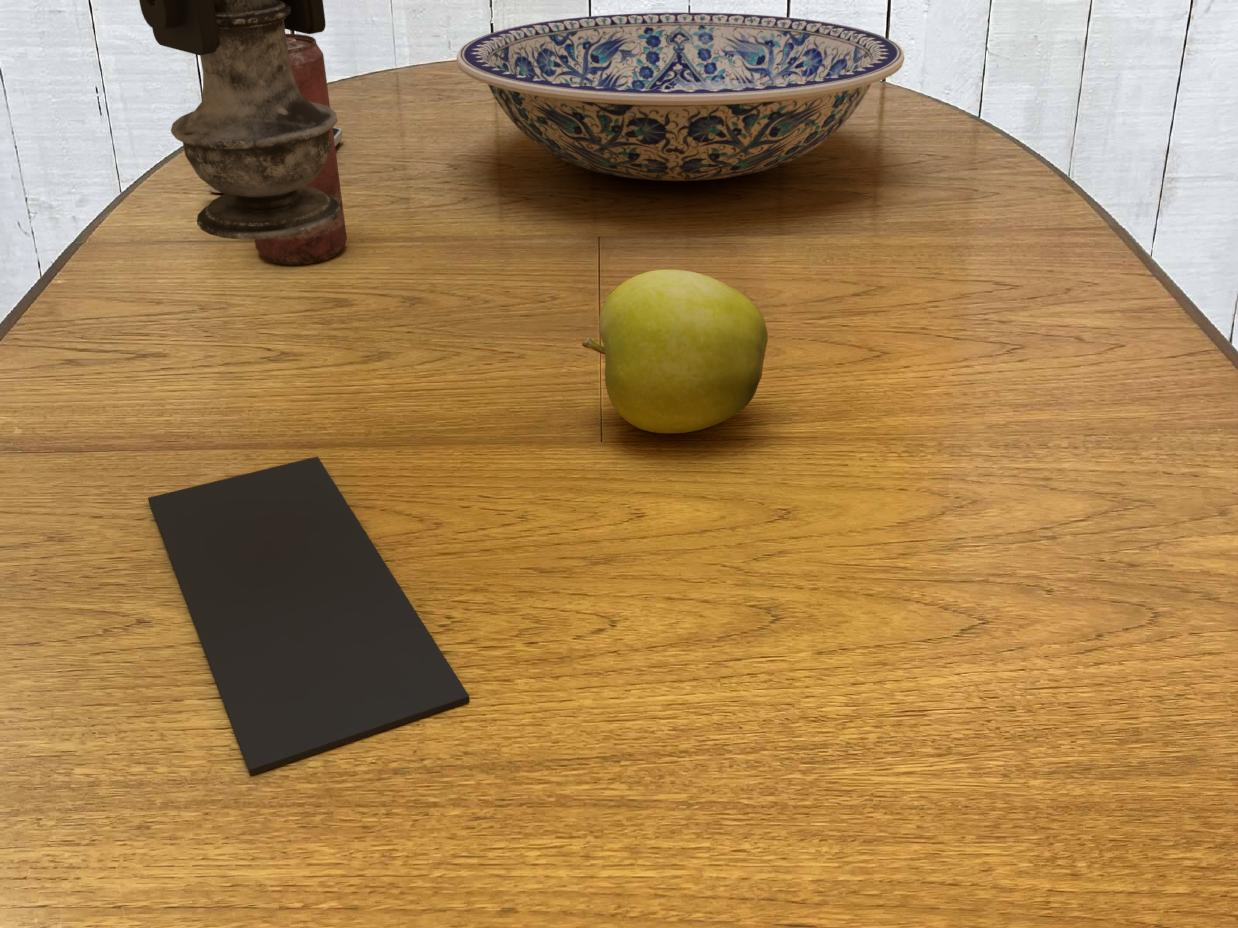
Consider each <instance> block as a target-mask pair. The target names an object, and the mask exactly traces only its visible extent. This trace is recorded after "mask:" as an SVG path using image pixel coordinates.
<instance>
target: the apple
mask: <svg viewBox="0 0 1238 928" xmlns="http://www.w3.org/2000/svg"><path fill="white" fill-rule="evenodd" d="M598 317H599V318H598V331H599V336H600V339H601V341H602V343H603V345H602V344H600V343H598V342H596V341H595V340H593V339H592V337H590V336H586V337H585V340H584V341H583V342H581V346H582V347H584V348H586V349H590V350H593V351H595V352H597V353H598V354H599V353H600V354H601V355H604V366H605V367H604V381H605V382H604V383H605V387H606V392H607V396H608V399H609V400H610V403H611V404H612V407H613V408H614V409H615V411H616V412H617V413H618V415H619V416H620V417H621V418H622V419H623V420H625V421H626V422H627V423H628V424H630V425H632V426H634V427H635V428H638V429H640V430H643V431H646V432H650V433H656V434H682V433H692V432H696V431H700V430H704V429H707V428H710V427H713V426H715V425H719V424H721V423H724V422H725V421H727V420H730V419H732V418H733V417H735V416H737V415H738V414H739V413H740V412H742V411H744V409H745V408H746V407H747V406H748V405H749V404H750V402H751V401H752V400H753V398H754V397H755V395H756V392H757V390H758V387H759V384H760V382H761V379H762V376H763V369H764V362H765V357H766V350H767V345H768V341H769V340H768V339H769V338H768V335H769V333H768V329H767V324H766V323H767V322H766V320H765V317H764V315H763V314H762V312H761V310H760V309H759V307H758V306H757V305H756V304H755V303H754V302H753V301H752V300H751V299H750V298H748V297H747V296H746V295H744V294H743V293H741V292H740V291H738V290H736V289H735V288H734V287H731V286H730V285H727V284H725V283H724V282H722V281H720V280H718V279H716V278H713V277H711V276H708V275H705V274H702V273H699V272H695V271H690V270H683V269H655V270H649V271H646V272H643V273H640V274H636V275H635V276H633V277H632V276H631V277H630V278H629V279H627V280H625V281H624V282H622V283H621V284H619V285H618V286H617V287H616V288H615V289H614V290H613V291H612V292H611V293H610V294H609V295H608V296H607V298H606V299H605V301H604V302H603V304H602V307H601V309H600V311H599V316H598Z"/></svg>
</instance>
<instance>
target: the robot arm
mask: <svg viewBox="0 0 1238 928" xmlns="http://www.w3.org/2000/svg"><path fill="white" fill-rule="evenodd" d="M280 1H282V2H284V3H285V4H287V5H289V6H290V7H291V13H290V14H289V15H287V16H286V18H285V19H284V26H285V30H288V31H293V32H296V33H302V34H304V35H314V34H318V33H323V32H324V31H325V29H326V25H327V24H326V15H325V7H324V0H280ZM138 2H139V6H140V7H139V8H140V12H141V14H142V16H143V19H144V21H145V23H146V24H147V25H148V27H150V28H152V33H153V37H154V39H155V41H156V43H157V44H158V45H160V46H162V47H166V48H170V49H173V50H177V51H180V52H185V53H189V54H192V55H195V56H200V55H205V54H210V53H214V52H216V49H217V48H218V47H219V46H220V38H219V32H218V26H217V20H216V14H215V8H214V2H213V0H138Z"/></svg>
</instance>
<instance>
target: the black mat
mask: <svg viewBox="0 0 1238 928" xmlns="http://www.w3.org/2000/svg"><path fill="white" fill-rule="evenodd" d="M147 502H148V504H149V508H150V511H151V512H152V515H153V518H154V521H155V523H156V526H157V529H158V531H159V535H160V537H161V539H162V542H163V544H164V548H165V550H166V554H167V556H168V558H169V561H170V563H171V566H172V569H173V573H174V574H175V577H176V580H177V582H178V585H179V588H180V591H181V593H182V596H183V598H184V602H185V604H186V607H187V610H188V612H189V614H190V618H191V621H192V623H193V626H194V628H195V631H196V633H197V636H198V637H197V638H198V639H199V642H200V645H201V647H202V650H203V653H204V656H205V658H206V660H207V663H208V666H209V669H210V672H211V674H212V677H213V681H214V682H215V685H216V688H217V691H218V692H219V696H220V698H221V701H222V704H223V706H224V710H225V712H226V715H227V718H228V720H229V723H230V725H231V728H232V731H233V733H234V737H235V739H236V742H237V744H238V747H239V750H240V752H241V755H242V757H243V758H242V759H243V760H244V763H245V766H246V769H247V771H248V774H249V776H251V777H252V776H254V775H257V774H261V773H263V772H266V771H269V770H272V769H276V768H278V767H281V766H284V765H287V764H290V763H294V762H296V761H299V760H303V759H305V758H308V757H311V756H314V755H316V754H317V755H318V754H321V753H323V752H326V751H329V750H332V749H334V748H338V747H341V746H344V745H347V744H350V743H352V742H356V741H358V740H361V739H364V738H367V737H371V736H373V735H376V734H379V733H382V732H385V731H388V730H390V729H393V728H397V727H400V726H402V725H405V724H409V723H411V722H415V721H417V720H420V719H423V718H426V717H429V716H432V715H435V714H438V713H441V712H444V711H447V710H450V709H453V708H456V707H458V706H462V705H465V704H468V703H470V702H471V700H470V695H469V693H468V692H467V689H465V686H464V685H463V684H462V682H461V681H460V679H459V678H458V675H457V674H456V673H455V671H454V670H453V668H452V666H451V665H450V663H449V662H448V660H447V658H446V657H445V655H444V654H443V652H442V651H441V648H440V647H439V646H438V644H437V643H436V641H435V640H434V638H433V637H432V635H431V633H430V632H429V630H428V629H427V627H426V626H425V623H424V622H423V621H422V618H421V617H420V615H419V614H418V613H417V611H416V609H415V608H414V606H413V605H412V603H411V602H410V600H409V599H408V598H409V597H407V595H406V594H405V592H404V590H403V589H402V587H401V585H400V584H399V582H398V581H397V579H396V578H395V576H394V575H393V572H392V571H391V570H390V568H389V567H388V565H387V564H386V562H385V561H384V559H383V558H382V556H381V554H380V552H379V551H378V549H377V548H376V546H375V544H374V543H373V542H372V540H371V538H370V537H369V535H368V534H367V532H366V530H365V528H363V526H362V524H361V522H360V521H359V519H358V518H357V516H356V515H355V513H354V511H353V510H352V508H351V506H350V505H349V504H348V502H347V500H346V498H345V497H344V495H343V494H342V493H341V491H340V489H339V487H338V486H337V485H336V483H335V480H333V478H332V477H331V476H330V473H329V472H328V471H327V469H326V467H325V465H324V464H323V462H322V461H321V459H320V457H319V456H313V457H310V458H305V459H302V460H297V461H292V462H288V463H285V464H281V465H276V466H272V467H268V468H264V469H260V470H255V471H251V472H248V473H244V474H243V473H242V474H238V475H236V476H230V477H226V478H222V479H218V480H215V481H211V482H207V483H202V484H199V485H195V486H189V487H186V488H181V489H178V490H174V491H173V490H172V491H169V492H165V493H161V494H157V495H152V496H149V497H147Z"/></svg>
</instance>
